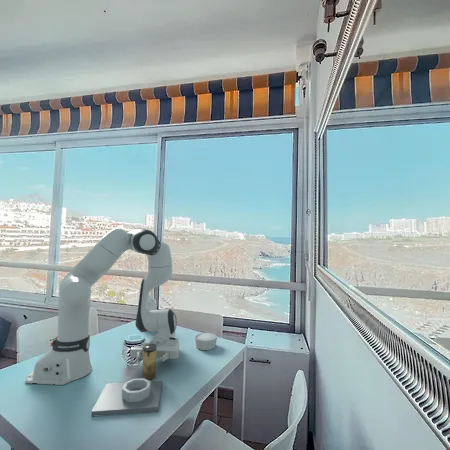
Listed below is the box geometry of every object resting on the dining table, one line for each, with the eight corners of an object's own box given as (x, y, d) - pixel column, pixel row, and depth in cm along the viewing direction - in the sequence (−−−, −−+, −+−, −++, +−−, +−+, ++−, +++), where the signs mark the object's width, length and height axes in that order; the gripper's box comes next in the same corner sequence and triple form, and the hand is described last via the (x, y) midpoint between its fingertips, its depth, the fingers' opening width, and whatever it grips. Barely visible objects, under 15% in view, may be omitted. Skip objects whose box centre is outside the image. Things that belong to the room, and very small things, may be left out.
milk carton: (139, 329, 162) (140, 297, 163) (145, 325, 169) (146, 294, 170) (151, 330, 161) (152, 297, 162) (156, 326, 168) (157, 294, 169)
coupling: (155, 382, 106) (155, 350, 107) (140, 382, 106) (141, 350, 106) (157, 372, 114) (157, 342, 114) (143, 372, 113) (144, 342, 113)
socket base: (91, 416, 86) (91, 401, 86) (106, 387, 102) (106, 375, 102) (157, 411, 89) (158, 397, 89) (162, 384, 105) (162, 372, 105)
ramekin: (196, 342, 145) (196, 332, 146) (217, 342, 145) (217, 332, 145) (193, 351, 134) (193, 340, 134) (216, 352, 134) (216, 341, 134)
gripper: (136, 337, 125) (124, 350, 111) (182, 338, 124) (175, 352, 111) (136, 351, 125) (123, 366, 111) (181, 353, 124) (175, 368, 110)
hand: (150, 359), depth 111 cm, fingers open, 8 cm apart
